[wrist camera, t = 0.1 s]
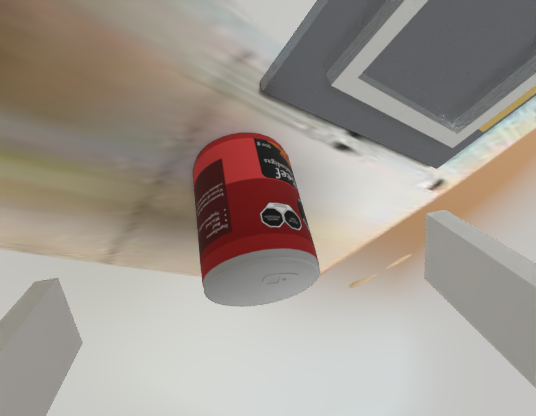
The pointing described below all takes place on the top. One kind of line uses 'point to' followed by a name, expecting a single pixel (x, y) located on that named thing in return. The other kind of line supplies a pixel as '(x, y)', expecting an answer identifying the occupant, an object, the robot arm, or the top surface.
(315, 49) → the plate
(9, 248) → the top surface
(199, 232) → the canned food
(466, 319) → the robot arm
